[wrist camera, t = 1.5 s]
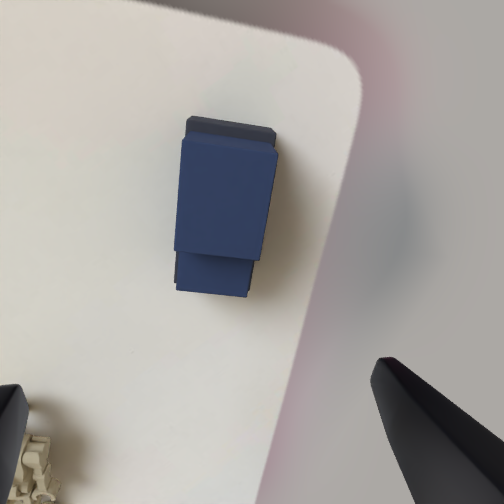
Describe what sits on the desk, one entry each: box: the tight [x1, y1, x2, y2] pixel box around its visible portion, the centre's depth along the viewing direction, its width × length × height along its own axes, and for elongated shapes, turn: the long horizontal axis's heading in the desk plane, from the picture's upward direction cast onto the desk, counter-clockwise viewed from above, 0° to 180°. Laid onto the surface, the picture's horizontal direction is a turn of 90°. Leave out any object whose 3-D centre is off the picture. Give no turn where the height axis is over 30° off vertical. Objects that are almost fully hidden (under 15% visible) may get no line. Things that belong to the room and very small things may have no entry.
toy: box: [6, 434, 61, 504], centre depth 28 cm, size 6×4×15 cm
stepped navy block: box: [174, 116, 278, 297], centre depth 19 cm, size 9×4×6 cm, turn 171°
